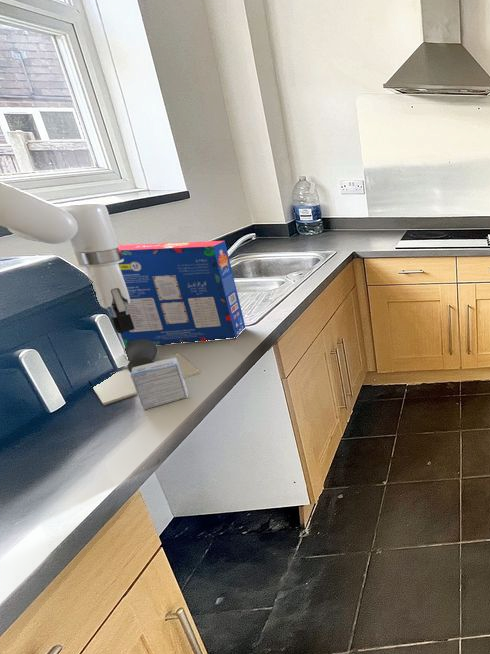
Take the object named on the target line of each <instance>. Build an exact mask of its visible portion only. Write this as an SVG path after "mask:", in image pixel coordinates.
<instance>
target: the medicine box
mask: <svg viewBox="0 0 490 654" xmlns="http://www.w3.org/2000/svg"><path fill="white" fill-rule="evenodd" d="M131 378H132V381H133V383H134V386H135V389H136V392H137V395H136V396H137V398H138V400H139V402H140V406H141V408H142V410H143V411H145V410H147V409H151V408H155V407H158V406H162V405H166V404H169V403H173V402H176V401H179V400H182V399H187V398H189V394H188V389H187V386H186V382H185V380H184V379H183V376H182V373H181V369H180V366H179V363H178V360H177V358H171V359H166V360H162V361H158V362H154V363H149V364H145V365H141V366H137V367H133V368H132V370H131Z"/></svg>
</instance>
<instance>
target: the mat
mask: <svg viewBox="0 0 490 654" xmlns="http://www.w3.org/2000/svg"><path fill="white" fill-rule="evenodd" d="M171 358H177V360H178V363H179V366H180V369H181V373H182V376H183V379H188V378H190V377H194V376H196V375H200V374H201V371H200V370H199V369H198V368H197V367H196V366H194V365H193V364H192V363H191V362H190V361H189V360H187V359H186V358H185V357H184V356H183V355H181V354H180V353H176V354H173V355H170V356H166V357H163V358H160V359H156V360H153V361H154V362H158V361H162V360H166V359H171ZM115 372H116V373H115ZM115 372H114V373H115V374H113V375H112V376H111V377H109V378H108V379H106V380H104V381H103V382H101V383H100V384H97V385H96V386H94V387H93V388H92V389H93V391H94V392H95V394H96V396H97V397H98V399H99V401H100V402H101V403H102V405H103V406H107V405H110V404H112V403H115V402H119V401H122V400H124V399H128V398H131V397H135V396H138V395H137V392H136V389H135V386H134V383H133V381H132V378H131V373H130V371H129V370H128V368H126V369H122V370H119V371H115Z"/></svg>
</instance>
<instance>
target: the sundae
mask: <svg viewBox="0 0 490 654" xmlns="http://www.w3.org/2000/svg"><path fill="white" fill-rule="evenodd" d="M158 347H159V346H156V344H155V343H153V342H152V341H149V340H145V339H139V340H135V341H132V342H129V343H128V344H127V346H126V347H125V346H124V349H125V351H126V354H127V357H128V360H127V361H128V362H129V363H128V364H127V369H128V370H129V371H130V373H131V370H132V368H133V367H137V366H141V365H145V364H149V363H154V361H155V359H156V357H157V356H158V353H159V348H158Z"/></svg>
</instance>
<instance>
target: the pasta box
mask: <svg viewBox="0 0 490 654" xmlns="http://www.w3.org/2000/svg"><path fill="white" fill-rule="evenodd" d="M226 244H227V243H226V241H225V240H212V241H211V240H210V241H188V242H187V241H186V242H185V241H183V242H162V243H160V242H159V243H158V242H157V243H140V244H139V243H137V244H119V247H120V250H121V253H122V256H123V259H124V261H123V262H121V263H118V264H119V267H120V270H121V272H122V275H123V278H124V281H125V284H126V287H127V290H128V294H129V297H130V303H129V304H126V306H127V309H128V312H129V314H130V316H131V319H132V322H133V325H134V329H133V330H130V331H126V332H122V333H119V334H120V338H121V339H122V342H123V345H124V348H125V347H126V346H127V344H128V343H129V342H132V341H135V340H139V339H145V340H149V341H152V342H153V343H155V344H156V345H162V346H166V345H165V344H171V343H181V342H182V343H183V342H195V341H206V340H207V341H208V340H215V339H226V338H234V337H235V338H236V337H237V336H238V335H239V333H240V332H241V331H242V330H243V329H244V328H245V327H246V324H245V320H244V315H243V312H242V306H241V303H240V298H239V295H238V289H237V285H236V281H235V278H234V274H233V270H232V265H231V260H230V257H229V253H228V247H227V245H226ZM239 336H240V335H239ZM208 342H209V341H208Z"/></svg>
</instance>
